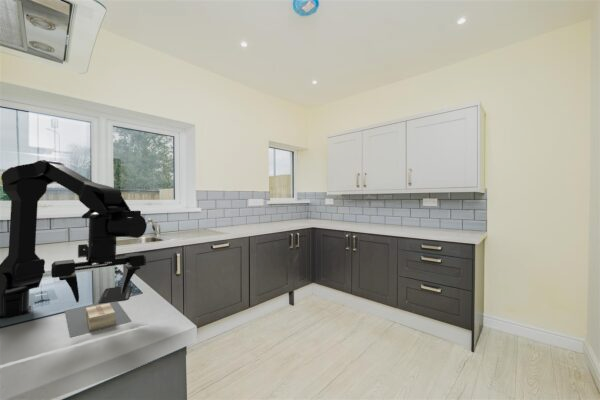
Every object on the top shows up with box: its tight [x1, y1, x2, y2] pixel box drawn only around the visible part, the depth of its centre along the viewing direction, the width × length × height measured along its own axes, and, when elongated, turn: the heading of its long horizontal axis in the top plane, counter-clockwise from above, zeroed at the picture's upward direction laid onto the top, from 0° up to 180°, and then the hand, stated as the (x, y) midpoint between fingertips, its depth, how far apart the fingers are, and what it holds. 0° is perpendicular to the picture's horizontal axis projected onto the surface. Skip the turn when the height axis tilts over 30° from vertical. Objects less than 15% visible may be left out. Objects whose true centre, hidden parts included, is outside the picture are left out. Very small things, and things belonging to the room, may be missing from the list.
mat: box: [64, 301, 133, 338], centre depth 70 cm, size 20×12×1 cm, turn 45°
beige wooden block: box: [86, 303, 115, 331], centre depth 67 cm, size 8×5×3 cm, turn 44°
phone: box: [97, 285, 133, 304], centre depth 86 cm, size 8×1×15 cm
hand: (101, 297), depth 67 cm, fingers open, 9 cm apart
